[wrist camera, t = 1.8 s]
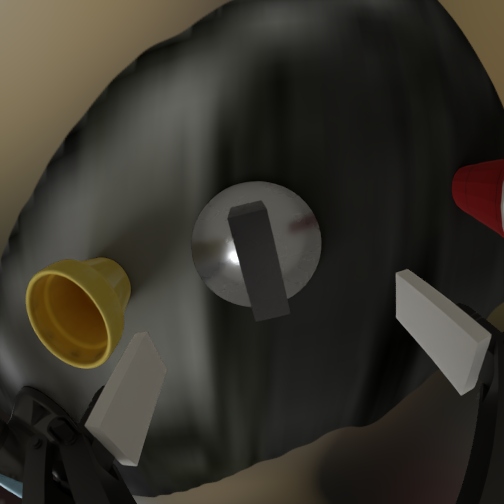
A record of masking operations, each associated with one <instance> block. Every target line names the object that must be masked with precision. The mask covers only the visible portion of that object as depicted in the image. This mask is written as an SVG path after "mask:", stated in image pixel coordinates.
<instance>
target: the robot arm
mask: <svg viewBox="0 0 504 504" xmlns="http://www.w3.org/2000/svg"><path fill="white" fill-rule="evenodd" d="M396 318H397V319H398V320H399V322H400V323H401V324H402V325H403V326H404V327H405V328H406V329H407V331H408V332H409V333H410V334H411V335H412V336H413V337H414V339H415V340H416V341H417V342H418V343H419V344H420V346H421V347H422V348H423V349H424V350H425V351H426V353H427V354H428V355H429V356H430V357H431V359H432V360H433V361H434V362H435V363H436V365H437V366H438V367H439V368H440V370H441V371H442V372H443V373H444V374H445V375H446V377H447V378H448V379H449V381H450V382H451V383H452V384H453V386H454V387H455V388H456V389H457V391H458V392H459V393H460V395H463V394H464V393H466V392H468V391H469V390H471V389H473V388H474V387H475V384H476V382H477V379H478V377H479V378H480V379H481V380H482V385H481V387H480V389H479V392H478V394H477V397H476V400H478V398H479V396H480V399H479V408H478V416H477V422H476V429H475V434H474V439H473V445H472V449H471V454H470V458H469V462H468V466H467V469H466V473H465V476H464V480H463V483H462V486H461V489H460V492H459V495H458V498H457V501H456V504H504V332H500V331H499V330H498V329H497V328H495V327H494V326H493V325H492V324H491V323H489V322H488V321H487V320H486V319H484V318H482V316H481V315H479V314H478V313H476V311H474V310H473V309H472V308H470V307H469V306H466V305H464V304H461V303H458V304H456V305H455V304H454V303H452V302H451V301H450V300H449V299H447V298H446V297H445V296H443V295H442V294H441V293H439V292H438V291H437V290H436V289H434V288H433V287H432V286H430V285H429V284H427V283H426V282H425V281H423V280H422V279H421V278H419V277H418V276H417V275H415V274H414V273H412V272H411V271H410V270H408V269H407V270H404V271H401V272H397V273H396ZM166 372H167V369H166V368H165V366H164V364H163V362H162V360H161V358H160V356H159V354H158V352H157V350H156V348H155V346H154V344H153V342H152V340H151V338H150V336H149V334H148V332H140V333H135V335H134V336H133V338H132V340H131V341H130V343H129V345H128V347H127V348H126V350H125V352H124V353H123V355H122V357H121V359H120V360H119V362H118V364H117V366H116V367H115V369H114V371H113V373H112V375H111V376H110V378H109V380H108V382H107V384H106V386H102V387H101V388H100V389H99V390H98V391H97V392H96V393H95V395H94V397H93V399H92V402H91V403H90V404H89V406H88V407H89V408H87V410H86V412H85V414H84V416H83V417H82V419H81V421H80V423H79V425H78V427H77V426H76V425H75V424H74V422H73V421H72V419H71V418H70V417H69V416H68V415H67V413H66V412H65V411H64V410H63V409H62V408H61V407H59V406H58V405H57V404H56V403H55V402H54V401H52V400H51V399H50V398H48V397H47V396H45V395H44V394H42V393H41V392H39V391H37V390H35V389H33V388H30V387H23V388H22V389H21V390H20V391H19V393H18V394H17V396H16V400H15V403H14V407H13V412H12V416H11V419H10V420H9V422H8V423H7V424H6V423H5V422H4V421H3V420H2V418H1V417H0V485H1V486H3V487H4V488H6V489H7V490H9V491H10V492H12V493H14V494H15V495H17V496H19V497H20V498H22V504H137V503H136V501H135V500H134V498H133V497H132V495H131V493H130V491H129V489H128V488H127V486H126V484H125V482H124V480H123V478H122V477H121V475H120V473H119V471H118V469H117V467H116V466H115V465H114V464H113V461H114V458H116V459H117V460H118V461H119V462H120V463H121V464H123V465H130V466H137V464H138V461H139V457H140V454H141V450H142V447H143V444H144V440H145V437H146V434H147V431H148V427H149V424H150V421H151V418H152V415H153V411H154V408H155V405H156V402H157V399H158V396H159V393H160V390H161V387H162V384H163V381H164V378H165V375H166ZM53 474H54V475H55V476H56V477H57V481H55V480H53Z"/></svg>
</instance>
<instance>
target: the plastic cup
mask: <svg viewBox="0 0 504 504" xmlns="http://www.w3.org/2000/svg"><path fill="white" fill-rule="evenodd" d="M452 194H453V199H454V201H455V203H456V205H457V206H458V207H459V208H460V209H462V210H463V211H464V212H466V213H468V214H469V215H471V216H473V217H474V218H475V219H477V220H478V221H480V222H481V223H483V224H485V225H486V226H488V227H489V228H491V229H492V230H494V231H495V232H497V233H498V234H500V235H501V236H502V237H503V238H504V159H500V160H494V161H488V162H482V163H478V164H474V165H468V166H465V167H462V168H460V169H458V171H457V172H456V173H455V175H454V178H453V181H452Z"/></svg>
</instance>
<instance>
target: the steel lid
mask: <svg viewBox="0 0 504 504" xmlns="http://www.w3.org/2000/svg"><path fill="white" fill-rule="evenodd" d="M191 249H192V257H193V261H194V264H195V267H196V269H197V272H198V273H199V275H200V277H201V279H202V280H203V281H204V283H205V284H206V285H207V286H208V287H209V288H210V289H211V290H212V291H213V292H214V293H216V294H217V295H218V296H220V297H221V298H223V299H225V300H227V301H229V302H231V303H234V304H238V305H242V306H247V307H252V311H253V314H254V318H255V321H256V322H257V321H262V320H266V319H270V318H275V317H279V316H283V315H287V314H290V309H289V305H288V300H287V299H288V298H290V297H292V296H293V295H295V294H296V293H297V292H298V291H300V290H301V289H302V288H303V287H304V286H305V285H306V283H307V282H308V281H309V280H310V278H311V277H312V275H313V273H314V272H315V269H316V267H317V265H318V262H319V258H320V253H321V233H320V229H319V225H318V222H317V220H316V217H315V216H314V214H313V212H312V210H311V209H310V208H309V206H308V205H307V204H306V203H305V202H304V201H303V200H302V199H301V198H300V197H299V196H298V195H297V194H295V193H294V192H292V191H291V190H289V189H287V188H285V187H283V186H280V185H277V184H274V183H270V182H263V181H249V182H244V183H239V184H236V185H233V186H231V187H229V188H227V189H225V190H223V191H222V192H220V193H219V194H217V195H216V196H215V197H214V198H213V199H211V200H210V201H209V202H208V204H207V205H206V206H205V207H204V208H203V210H202V211H201V213H200V215H199V217H198V219H197V221H196V223H195V226H194V229H193V234H192V243H191Z"/></svg>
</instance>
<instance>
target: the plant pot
mask: <svg viewBox="0 0 504 504" xmlns="http://www.w3.org/2000/svg"><path fill="white" fill-rule="evenodd" d="M130 294H131V285H130V281H129V278H128V276H127V274H126V273H125V271H124V270H123V268H122V267H121V266H120V265H119V264H118V263H116V262H115V261H113V260H111V259H108V258H104V257H98V258H94V259H90V260H85V261H77V260H71V259H66V260H61V261H58V262H56V263H53V264H51V265H49V266H48V267H46V268H44V269H42V270H41V271H39V272H38V273H36V274H35V275H34V276H33V278H32V279H31V281H30V282H29V285H28V287H27V291H26V307H27V312H28V316H29V320H30V322H31V325H32V327H33V329H34V331H35V333H36V334H37V336H38V337H39V339H40V340H41V342H42V343H43V344H44V345H45V346H46V348H47V349H48V350H49V351H50V352H51V353H53V354H54V355H55V356H56V357H58V358H59V359H60V360H62V361H64V362H66V363H67V364H70V365H72V366H75V367H78V368H85V369H90V368H95V367H98V366H100V365H102V364H103V363H104V362H105V361H106V360H107V359H108V358H109V357H110V355H111V354H112V352H113V351H114V349H115V348H116V346H117V344H118V343H119V341H120V339H121V336H122V333H123V329H124V312H125V309H126V306H127V304H128V301H129V298H130Z"/></svg>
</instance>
